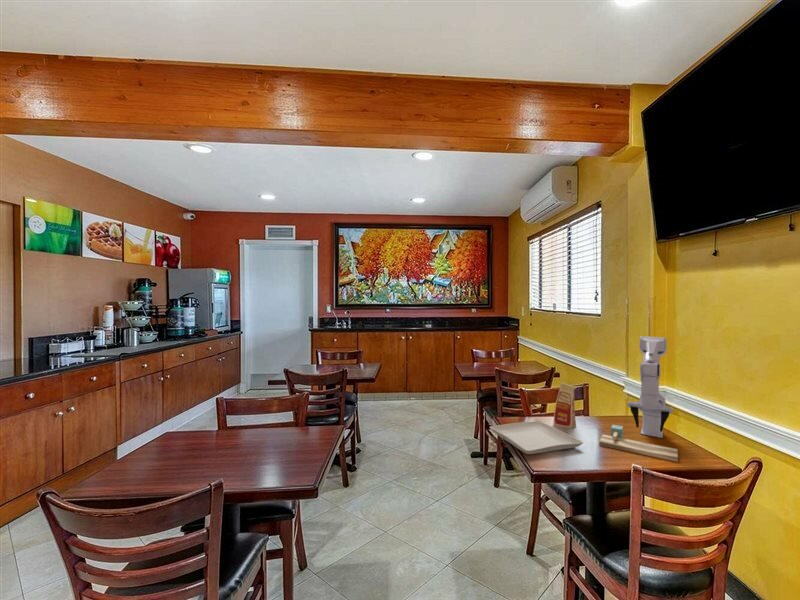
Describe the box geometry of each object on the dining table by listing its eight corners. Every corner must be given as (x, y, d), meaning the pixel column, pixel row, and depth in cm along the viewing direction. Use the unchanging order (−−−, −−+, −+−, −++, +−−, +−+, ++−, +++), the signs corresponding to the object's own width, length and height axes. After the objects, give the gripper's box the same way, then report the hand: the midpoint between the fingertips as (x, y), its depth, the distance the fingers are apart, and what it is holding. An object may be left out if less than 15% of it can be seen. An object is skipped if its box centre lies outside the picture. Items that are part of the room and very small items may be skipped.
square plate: (488, 434, 168) (488, 425, 168) (539, 428, 176) (539, 419, 176) (526, 459, 142) (526, 449, 142) (584, 451, 151) (584, 441, 151)
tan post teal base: (612, 435, 167) (612, 424, 167) (622, 437, 164) (623, 426, 164) (608, 444, 157) (608, 432, 157) (619, 446, 154) (620, 434, 154)
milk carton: (553, 425, 180) (553, 383, 180) (557, 419, 187) (558, 379, 187) (574, 429, 175) (574, 385, 174) (577, 423, 182) (578, 382, 182)
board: (602, 437, 164) (602, 434, 164) (677, 452, 149) (677, 448, 149) (599, 445, 156) (599, 441, 156) (677, 461, 141) (677, 457, 141)
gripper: (627, 392, 147) (626, 427, 148) (672, 399, 139) (672, 435, 139) (628, 389, 153) (628, 422, 153) (672, 395, 145) (672, 430, 145)
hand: (649, 428), depth 147 cm, fingers open, 7 cm apart
